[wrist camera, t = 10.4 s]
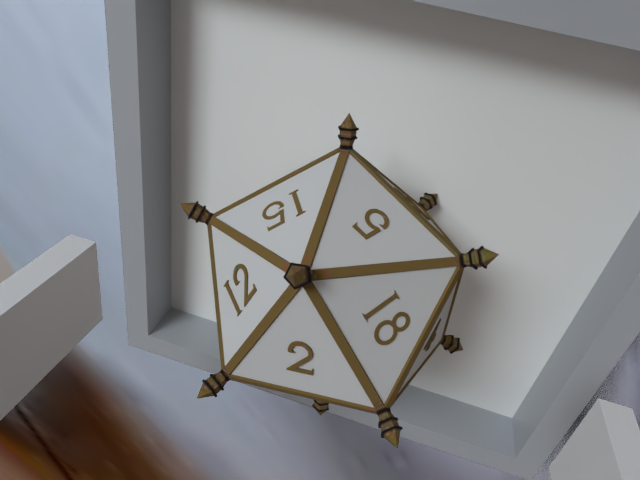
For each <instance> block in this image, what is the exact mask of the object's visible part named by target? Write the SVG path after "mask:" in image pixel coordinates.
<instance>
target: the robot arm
mask: <svg viewBox="0 0 640 480" xmlns="http://www.w3.org/2000/svg"><path fill="white" fill-rule="evenodd" d="M102 319H103V318H102V307H101V295H100V284H99V272H98V261H97V249H96V242H94V241H91V240H87V239H84V238H81V237H78V236H74V235H71V234H70V235H69V236H67V237H66V238H64V239H63V240H62V241H60V242H59V243H57V244H56V245H54V246H53V247H52V248H50V249H49V250H47V251H46V252H44V253H43V254H42V255H40V256H39V257H37V258H36V259H34V260H33V261H32V262H30V263H29V264H27V265H26V266H24V267H23V268H22V269H20V270H19V271H17V272H16V273H15V274H13V275H12V276H10V277H9V278H7V279H6V280H5V281H3V282H2V283H0V420H1V419H2V418H3V417H4V416H5V415H6V414H7V413H8V412H9V411H10V410H11V409H12V408H13V407H14V406H15V405H16V404H17V403H18V402H19V401H20V400H21V399H22V398H23V397H24V396H25V395H26V394H27V393H28V392H29V391H30V390H31V389H32V388H33V387H34V386H36V385H37V384H38V383H39V382H40V381H41V380H42V379H43V378H44V377H45V376H46V375H47V374H48V373H49V372H50V371H51V370H52V369H53V368H54V367H55V366H56V365H57V364H58V363H59V362H60V361H61V360H62V359H63V358H64V357H65V356H66V355H67V354H68V353H69V352H70V351H71V350H72V349H73V348H74V347H75V346H76V345H77V344H78V343H79V342H80V341H81V340H82V339H83V338H84V337H85V336H86V335H87V334H88V333H89V332H90V331H91V330H92V329H93V328H94V327H95V326H96V325H97V324H98V323H99V322H100V321H101V320H102ZM549 471H550V477H551V480H640V429H639V426H638V423H637V421H636V418H635V415H634V412H633V410H632V408H628V407H625V406H622V405H619V404H616V403H612V402H609V401H606V400H603V399H599V398H598V399H597V401H596V402H595V403H594V405H593V406H592V408H591V409H590V410H589V412H588V413H587V415H586V416H585V417H584V419H583V420H582V422H581V423H580V424H579V426H578V427H577V429H576V430H575V431H574V433H573V434H572V436H571V437H570V438H569V440H568V441H567V442H566V444H565V445H564V447H563V448H562V449H561V451H560V452H559V454H558V455H557V456H556V458H555V459H554V461H553V462H552V463H551V465H550V466H549Z"/></svg>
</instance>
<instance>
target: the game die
mask: <svg viewBox="0 0 640 480" xmlns="http://www.w3.org/2000/svg"><path fill="white" fill-rule="evenodd" d="M338 128H339V130H340V134H339V135H338V138H339V139H340V143H341V144H340V147H339V148H337V149H335V150H333V151H331V152H329V153H327V154H325V155H323V156H322V157H320V158H318V159H316V160H314V161H312V162H310V163H308V164H306V165H305V166H303V167H301V168H299V169H297V170H295V171H293V172H291V173H289V174H287V175H286V176H284V177H282V178H280V179H278V180H276V181H274V182H272V183H270V184H269V185H267V186H265V187H263V188H261V189H259V190H257V191H255V192H253V193H251V194H250V195H248V196H246V197H244V198H242V199H240V200H238V201H236V202H234V203H233V204H231V205H229V206H227V207H225V208H223V209H221V210H219V211H217V212H215V213H214V214H213V213H210V212H209V211H208V210H207V209H206V206H205V205H204V207H203V206H202V205H200V204H198V201H197V202H196V203H180V205H181V206H182V208H183V210H184V211H185V213H186V214H187V216H188V219H190V218H191V219H193V220H195V221H196V223H198V222H203V223H205V224H206V225H207V228H208V238H209V248H210V258H211V269H212V279H213V289H214V299H215V309H216V320H217V330H218V340H219V350H220V361H221V370H220V372H218V373H216V374H214V375H213V374H211V375H210V376H211V377H209V378H208V379H207V380H203V384H202V387H201V390H200V392H199V395H198V397H197V398H203V397H209V396H215V397H217V395H216V394H217V393H218V392H219V391H220V390H222V391H223V390H224V388H223V387H224V385H225V384H226V382H227V381H229V380H233V381H237V382H241V383H246V384H250V385H254V386H258V387H263V388H267V389H271V390H275V391H280V392H284V393H288V394H292V395H297V396H301V397H305V398H309V399H313V401H314V404H313V405H312V407H314V408H315V409H316V410H317V412H318V413H319V414H320V415H321V414H323V413H324V412H325V411H327V410H329V406H328V404H329V403H331V404H335V405H339V406H343V407H348V408H352V409H356V410H360V411H365V412H369V413H373V414H377V415H378V417H379V422H378V427H379V428H381V431H382V432H381V437H382V438H385V439H387V440H388V441H389V442H390V443H392V444H393V445H394V446H395V447H397V448H398V442H399V437H400V431H401V430H402V429H403V428H402V427H401V426H399V424H398V422H397V421H398V420H399V419H398V418H397V417H394V415H393V414H392V413H391V410H390V408H391V407H392V405H393V404H394V403H395V401H396V400H397V399H398V398H399V396H400V395H401V394H402V393H403V391H404V390H405V389H406V387H407V386H408V385H409V384H410V382H411V381H412V380H413V378H414V377H415V376H416V375H417V373H418V372H419V371H420V369H421V368H422V367H423V366H424V364H425V363H426V362H427V360H428V359H429V358H430V357H431V355H432V354H433V353H434V352H435V350H436V349H437V348H438V346H439V345H440V344H441V345H442V346H443V348H444V350H449V352H450V353H451V354H452V353H454V352H457V351H462V350H463V348H462V345H461V343H460V338H454V336H453V335H445V332H446V329H447V326H448V322H449V319H450V315H451V312H452V308H453V305H454V301H455V298H456V295H457V291H458V288H459V284H460V281H461V277H462V274H463V271H464V268H465V267H473V268H474V269H475V270H476V269H478V267H483V268H485V269H487V265H488V264H489V263H491V262H492V261H493V260H494V259H495V258H496V257H497V256H498V255H499V254H497V253H495V252H492V251H490V250H488V249H485V248H484V247H483V246H481V247H480V248H479V249H474V248H472V249H471V250H470V251H469V252H467V253H465V254H464V253H461V252H460V251H459V250H458V249H457V247H456V246H455V245H454V244H453V243H452V241H451V240H450V239H449V238H448V237H447V235H446V234H445V233H444V232H443V231H442V229H441V228H440V227H439V226H438V225H437V223H436V222H435V221H434V220H433V219H432V218H431V216H430V215H429V214H428V213H427V212H426V211H427V210H430V209H432V208H433V206H435V205H437V194H428V193H424V196H423V197H420V201H419V203H418V202H416V201H415V200H414V199H413V198H412V197H410V196H409V195H408V194H407V193H406V192H404V191H403V190H402V189H401V188H400V187H398V186H397V185H396V184H395V183H394V182H392V181H391V180H390V179H389V178H388V177H386V176H385V175H384V174H383V173H382V172H380V171H379V170H378V169H377V168H376V167H374V166H373V165H372V164H371V163H370V162H368V161H367V160H366V159H365V158H364V157H362V156H361V155H360V154H359V153H358V152H356V151H355V150H354V149H353V143H354V141H355V139H357V137H356V132H357V130H359V128H357V127H356V125H355V123H354V121H353V119H352V117H351V115H350V113H349V114H348V115H347V117H346V118H345V120H344V121H343V122H342V124H341V125H340V126H338Z"/></svg>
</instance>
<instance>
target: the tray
mask: <svg viewBox="0 0 640 480" xmlns="http://www.w3.org/2000/svg"><path fill="white" fill-rule="evenodd" d="M104 2H105V16H106V31H107V45H108V59H109V73H110V88H111V102H112V116H113V130H114V145H115V159H116V173H117V187H118V202H119V216H120V230H121V244H122V258H123V273H124V287H125V301H126V315H127V330H128V344H129V345H131V346H134V347H137V348H140V349H143V350H146V351H148V352H151V353H154V354H157V355H160V356H163V357H166V358H169V359H172V360H175V361H178V362H181V363H184V364H187V365H190V366H193V367H196V368H199V369H202V370H204V371H207V372H210V373H213V374H216V373H218V372H220V370H221V361H220V350H219V340H218V330H217V320H216V309H215V299H214V289H213V279H212V269H211V258H210V248H209V238H208V228H207V225H206V224H205V223H203V222H198V223H196V221H195V220H193V219H191V218H190V219H188V216H187V214H186V213H185V211H184V210H183V208H182V206H181V205H180V203H196V202H197V201H198V204H200V205H202V206H203V207H204V205H205V206H206V209H207V210H208V211H209V212H210V213H213V214H214V213H215V212H217V211H219V210H221V209H223V208H225V207H227V206H229V205H231V204H233V203H234V202H236V201H238V200H240V199H242V198H244V197H246V196H248V195H250V194H251V193H253V192H255V191H257V190H259V189H261V188H263V187H265V186H267V185H269V184H270V183H272V182H274V181H276V180H278V179H280V178H282V177H284V176H286V175H287V174H289V173H291V172H293V171H295V170H297V169H299V168H301V167H303V166H305V165H306V164H308V163H310V162H312V161H314V160H316V159H318V158H320V157H322V156H323V155H325V154H327V153H329V152H331V151H333V150H335V149H337V148H339V147H340V144H341V143H340V139H339V138H338V135H339V134H340V130H339V128H338V126H340V125H341V124H342V122H343V121H344V120H345V118H346V117H347V115H348V114H349V113H350V115H351V117H352V119H353V121H354V123H355V125H356V127H357V128H359V130H357V132H356V137H357V139H355V141H354V143H353V149H354V150H355V151H356V152H358V153H359V154H360V155H361V156H362V157H364V158H365V159H366V160H367V161H368V162H370V163H371V164H372V165H373V166H374V167H376V168H377V169H378V170H379V171H380V172H382V173H383V174H384V175H385V176H386V177H388V178H389V179H390V180H391V181H392V182H394V183H395V184H396V185H397V186H398V187H400V188H401V189H402V190H403V191H404V192H406V193H407V194H408V195H409V196H410V197H412V198H413V199H414V200H415V201H416V202H418V203H419V201H420V197H423V196H424V193H428V194H437V205H435V206H433V208H432V209H430V210H427V211H426V212H427V213H428V214H429V215H430V216H431V218H432V219H433V220H434V221H435V222H436V223H437V225H438V226H439V227H440V228H441V229H442V231H443V232H444V233H445V234H446V235H447V237H448V238H449V239H450V240H451V241H452V243H453V244H454V245H455V246H456V247H457V249H458V250H459V251H460V252H461V253H464V254H465V253H467V252H469V251H470V250H471V249H472V248H474V249H479V248H480V247H481V246H483V247H484V248H485V249H488V250H490V251H492V252H495V253H497V254H499V255H498V256H497V257H496V258H495V259H494V260H493V261H492V262H491V263H489V264H488V265H487V269H485V268H483V267H478V269H476V270H475V269H474V268H473V267H465V268H464V271H463V274H462V277H461V281H460V284H459V288H458V291H457V295H456V298H455V301H454V305H453V308H452V312H451V315H450V319H449V322H448V326H447V329H446V332H445V335H453V336H454V338H460V343H461V345H462V348H463V350H462V351H457V352H454V353H452V354H451V353H450V352H449V350H444V348H443V346H442V345H441V344H440V345H439V346H438V348H437V349H436V350H435V352H434V353H433V354H432V355H431V357H430V358H429V359H428V360H427V362H426V363H425V364H424V366H423V367H422V368H421V369H420V371H419V372H418V373H417V375H416V376H415V377H414V378H413V380H412V381H411V382H410V384H409V385H408V386H407V387H406V389H405V390H404V391H403V393H402V394H401V395H400V396H399V398H398V399H397V400H396V401H395V403H394V404H393V405H392V407H391V408H390V410H391V413H392V414H393V415H394V417H397V418H398V419H399V420H398V421H397V422H398V424H399V426H401V427H402V428H403V429H402V430H401V431H400V437H402V438H405V439H408V440H411V441H414V442H417V443H420V444H422V445H425V446H428V447H431V448H434V449H437V450H440V451H443V452H446V453H449V454H452V455H455V456H458V457H461V458H464V459H467V460H470V461H473V462H476V463H478V464H481V465H484V466H487V467H490V468H493V469H496V470H499V471H502V472H505V473H508V474H511V475H514V476H517V477H520V478H523V479H526V480H532V479H533V478H534V476H535V475H536V473H537V472H538V471H539V469H540V468H541V467H542V465H543V464H544V463H545V461H546V460H547V458H548V457H549V456H550V454H551V453H552V452H553V450H554V449H555V448H556V446H557V445H558V443H559V442H560V441H561V439H562V438H563V437H564V435H565V434H566V432H567V431H568V430H569V428H570V427H571V426H572V424H573V423H574V422H575V420H576V419H577V417H578V416H579V415H580V413H581V412H582V411H583V409H584V408H585V406H586V405H587V404H588V402H589V401H590V400H591V398H592V397H593V396H594V394H595V393H596V391H597V390H598V389H599V387H600V386H601V385H602V383H603V382H604V381H605V379H606V378H607V376H608V375H609V374H610V372H611V371H612V370H613V368H614V367H615V365H616V364H617V363H618V361H619V360H620V359H621V357H622V356H623V355H624V353H625V352H626V350H627V349H628V348H629V346H630V345H631V344H632V342H633V341H634V339H635V338H636V337H637V335H638V334H639V333H640V0H104ZM240 383H241V382H240ZM243 384H246V383H243ZM246 385H249V386H252V387H255V388H257V389H260V390H263V391H266V392H269V393H272V394H275V395H278V396H281V397H284V398H287V399H290V400H293V401H296V402H299V403H302V404H305V405H308V406H311V407H312V405H313V404H314V401H313V399H309V398H305V397H301V396H297V395H292V394H288V393H284V392H280V391H275V390H271V389H267V388H263V387H258V386H254V385H250V384H246ZM328 406H329V410H327V411H325V412H328V413H331V414H334V415H337V416H340V417H343V418H346V419H349V420H352V421H355V422H358V423H361V424H364V425H367V426H369V427H372V428H375V429H378V430H381V428H379V427H378V422H379V417H378V415H377V414H373V413H369V412H365V411H360V410H356V409H352V408H348V407H343V406H339V405H335V404H331V403H329V404H328ZM313 408H314V407H313Z"/></svg>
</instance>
